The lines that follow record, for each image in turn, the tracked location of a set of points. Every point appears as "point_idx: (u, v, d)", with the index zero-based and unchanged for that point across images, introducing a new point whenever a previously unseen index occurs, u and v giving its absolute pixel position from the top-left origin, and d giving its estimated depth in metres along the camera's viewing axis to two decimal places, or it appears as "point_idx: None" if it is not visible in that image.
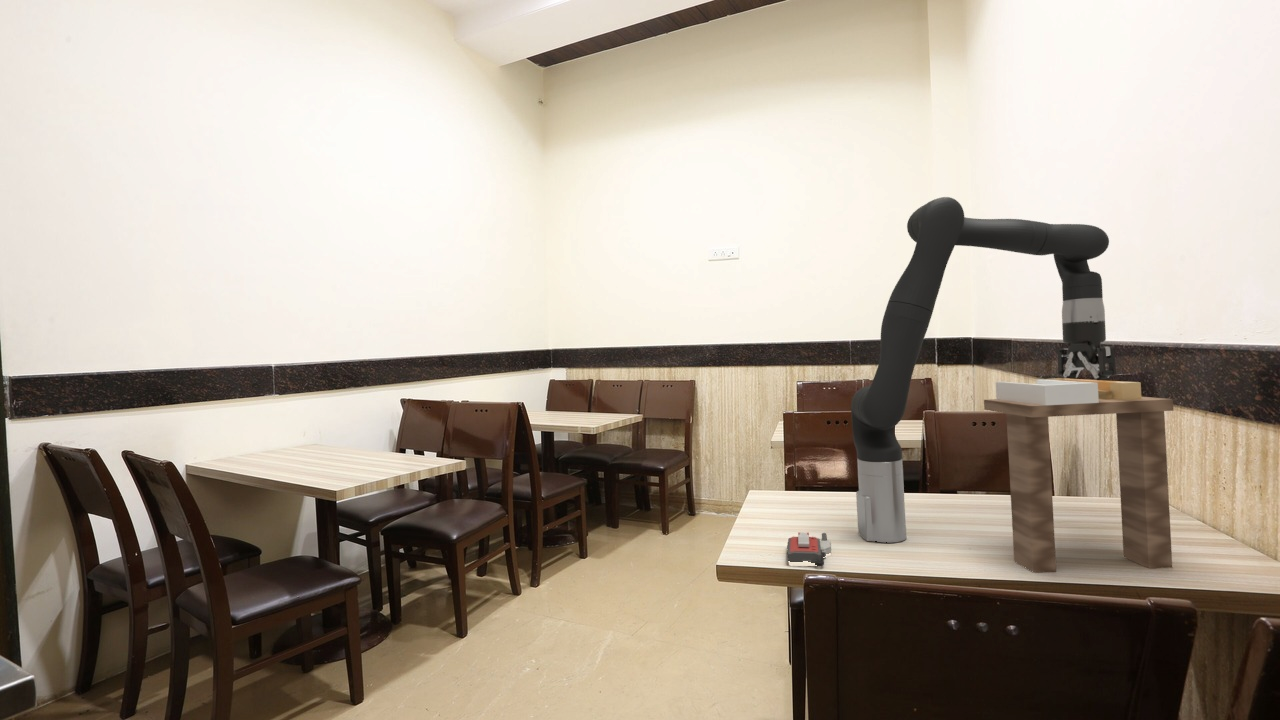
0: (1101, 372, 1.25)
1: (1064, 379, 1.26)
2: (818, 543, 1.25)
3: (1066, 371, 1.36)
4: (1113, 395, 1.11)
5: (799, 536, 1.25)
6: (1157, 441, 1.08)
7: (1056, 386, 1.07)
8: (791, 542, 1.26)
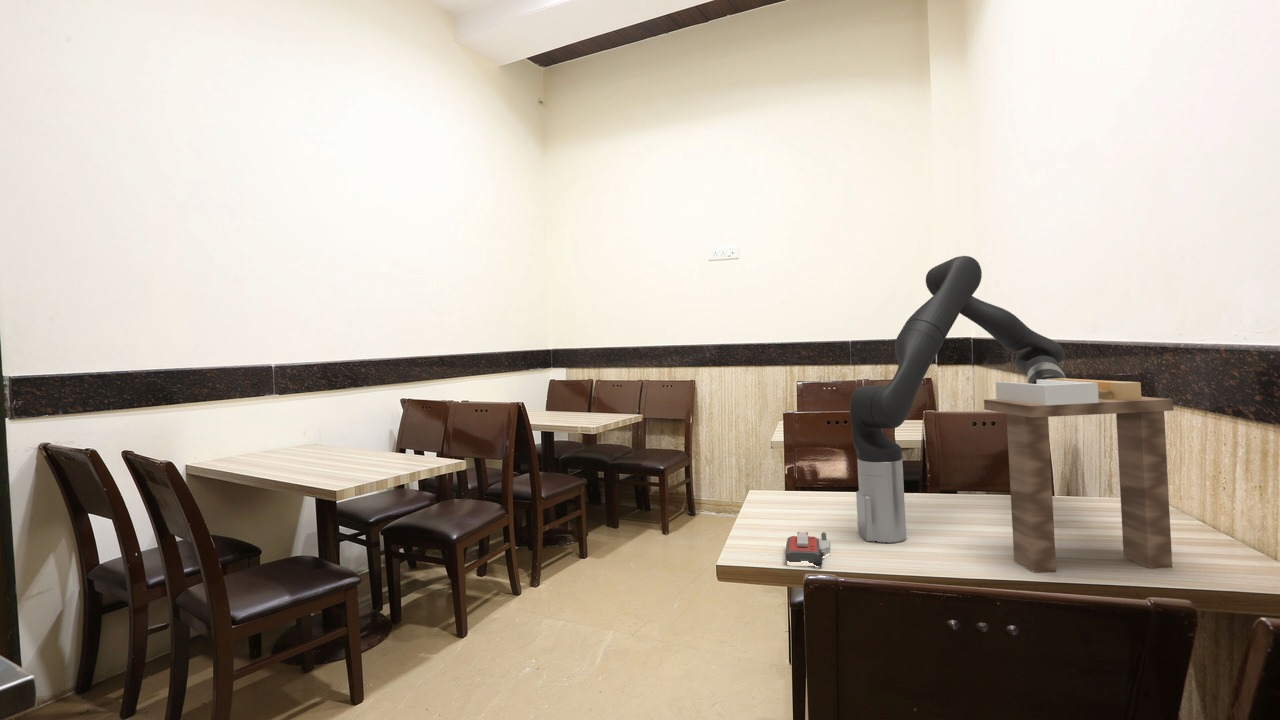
0: None
1: (1064, 379, 1.26)
2: (817, 543, 1.25)
3: None
4: (1113, 395, 1.11)
5: (798, 536, 1.25)
6: (1157, 441, 1.08)
7: (1056, 386, 1.07)
8: (790, 541, 1.26)
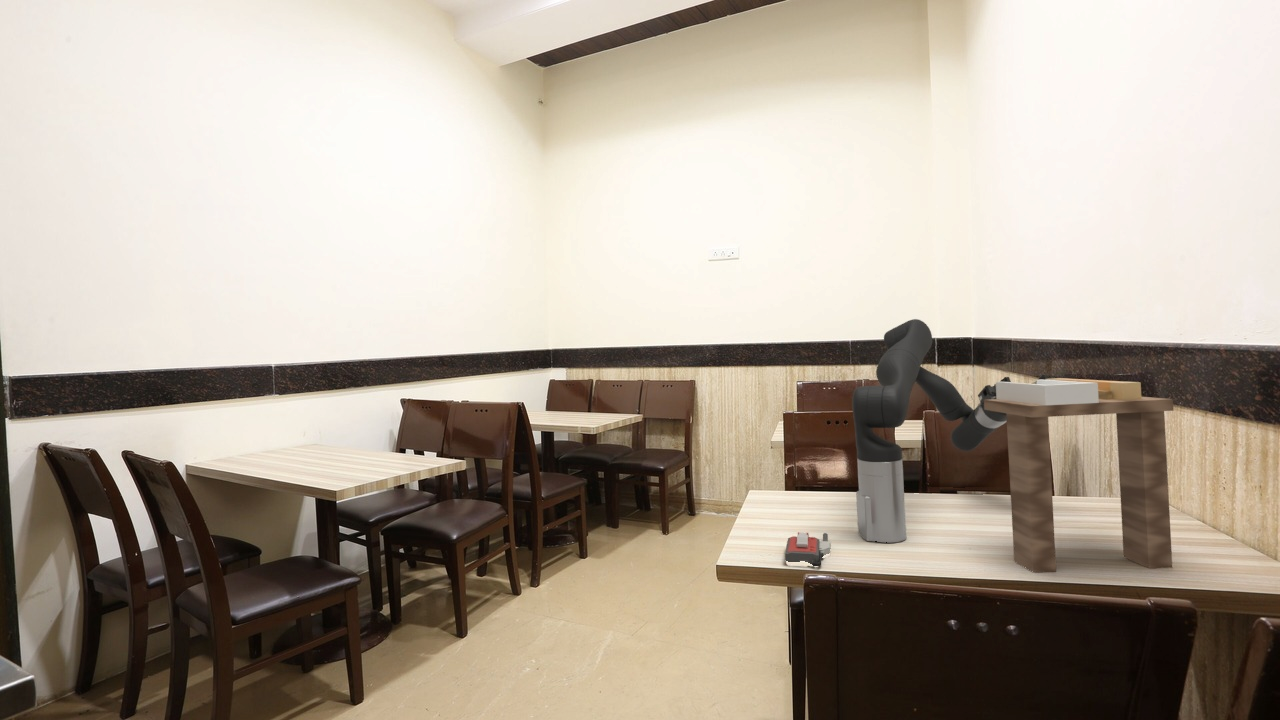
0: None
1: (1064, 379, 1.26)
2: (817, 543, 1.24)
3: None
4: (1113, 395, 1.11)
5: (798, 536, 1.25)
6: (1157, 441, 1.08)
7: (1056, 386, 1.07)
8: (790, 542, 1.26)
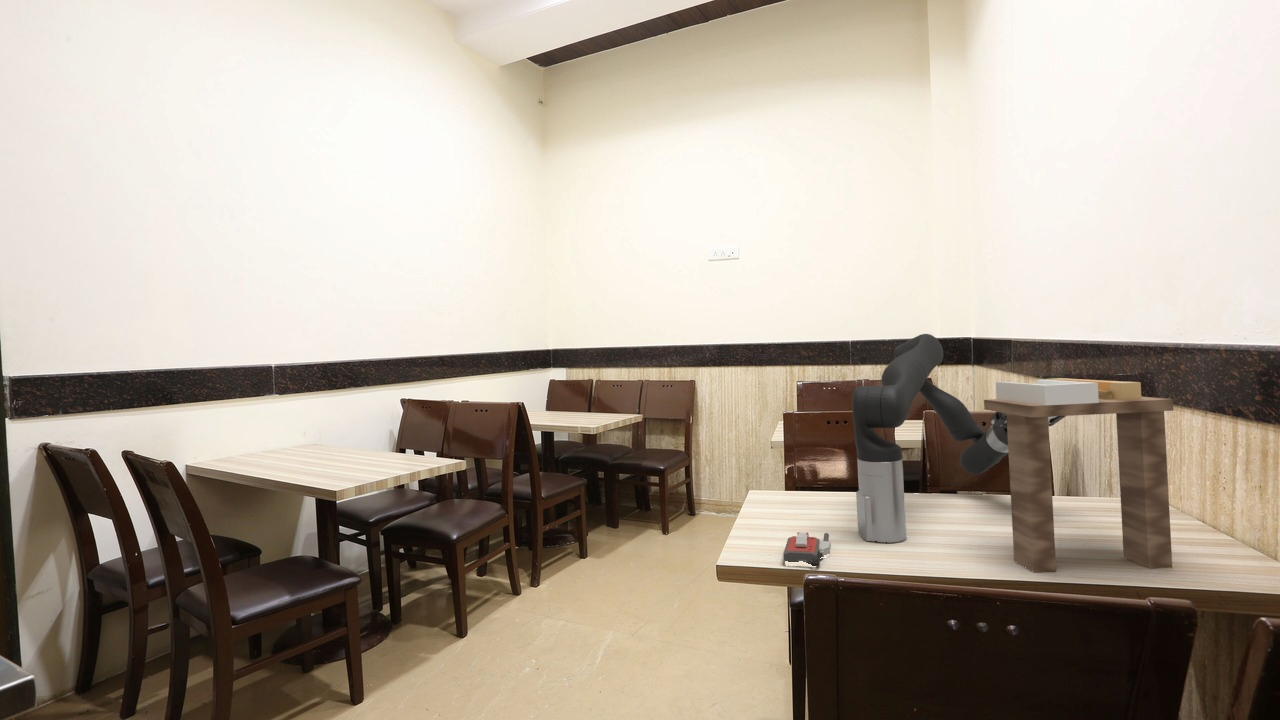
0: None
1: (1064, 379, 1.26)
2: (817, 543, 1.24)
3: None
4: (1113, 395, 1.11)
5: (797, 536, 1.25)
6: (1157, 441, 1.08)
7: (1056, 386, 1.07)
8: (790, 542, 1.26)
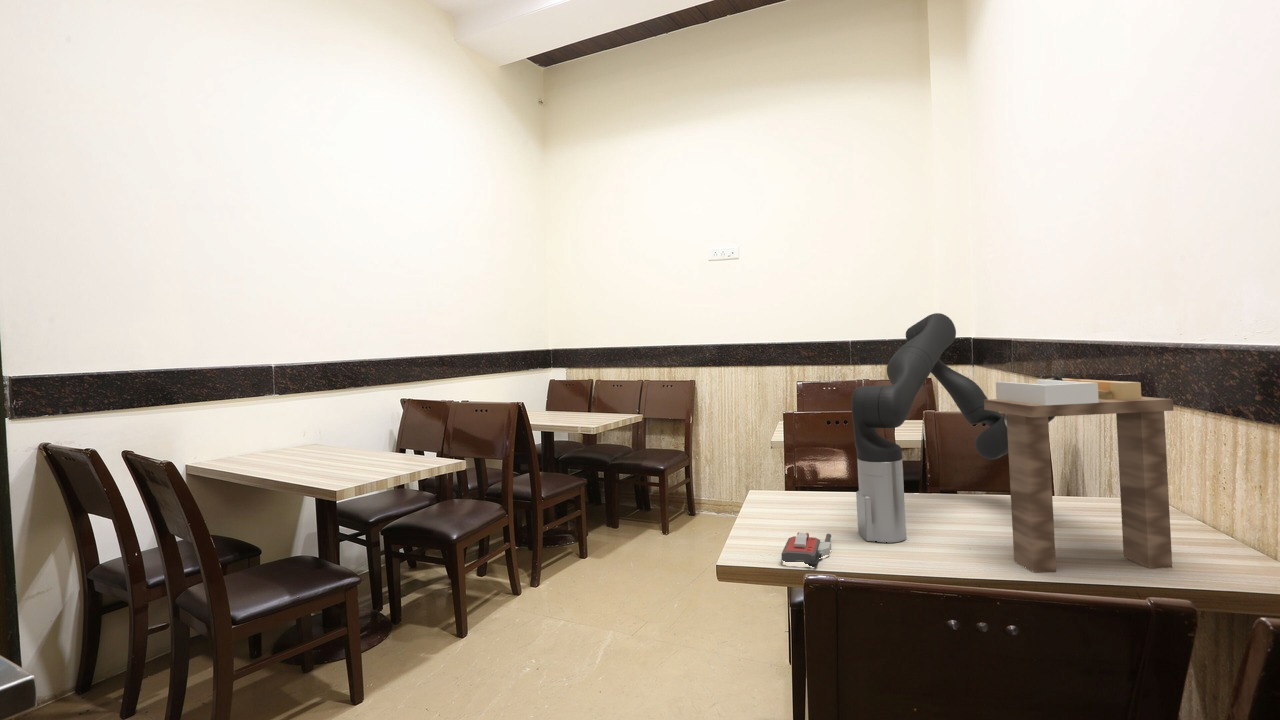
0: None
1: (1064, 379, 1.26)
2: (816, 544, 1.24)
3: None
4: (1113, 395, 1.11)
5: (797, 536, 1.24)
6: (1157, 441, 1.08)
7: (1056, 386, 1.07)
8: (789, 542, 1.26)
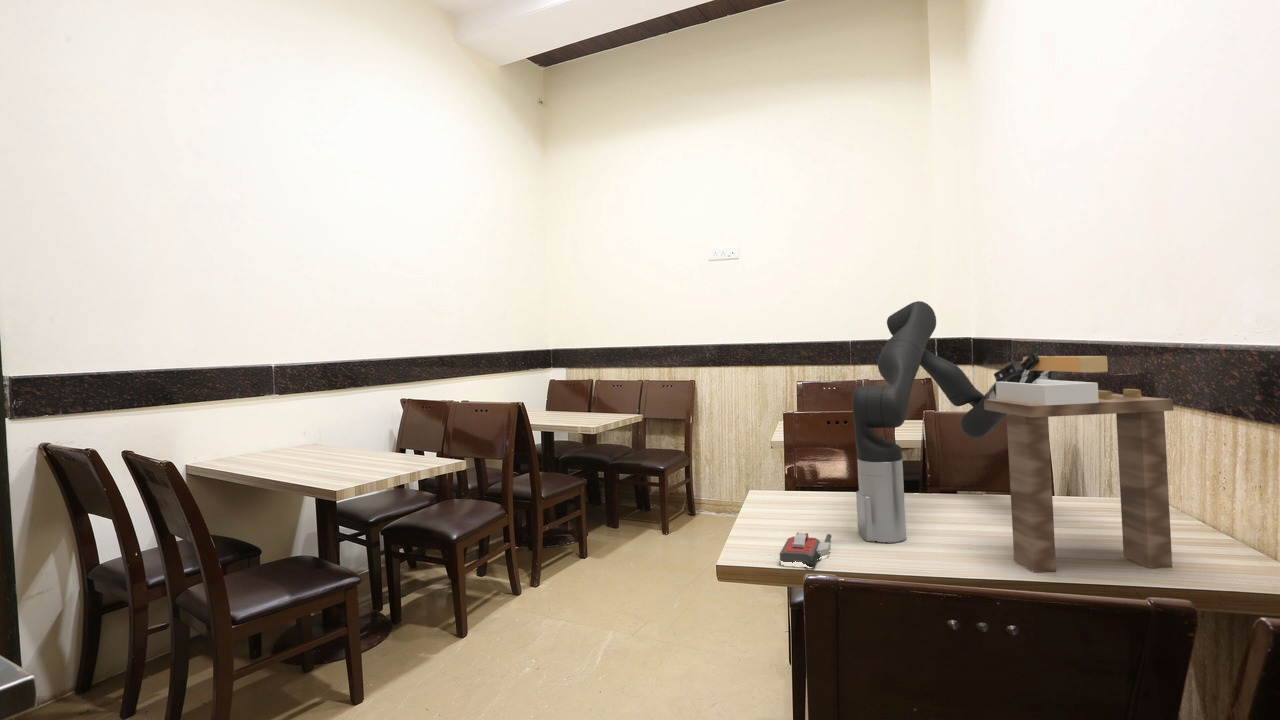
0: None
1: (1039, 356, 1.34)
2: (815, 544, 1.24)
3: None
4: (1082, 368, 1.19)
5: (796, 536, 1.24)
6: (1157, 441, 1.08)
7: (1056, 386, 1.07)
8: (788, 542, 1.26)
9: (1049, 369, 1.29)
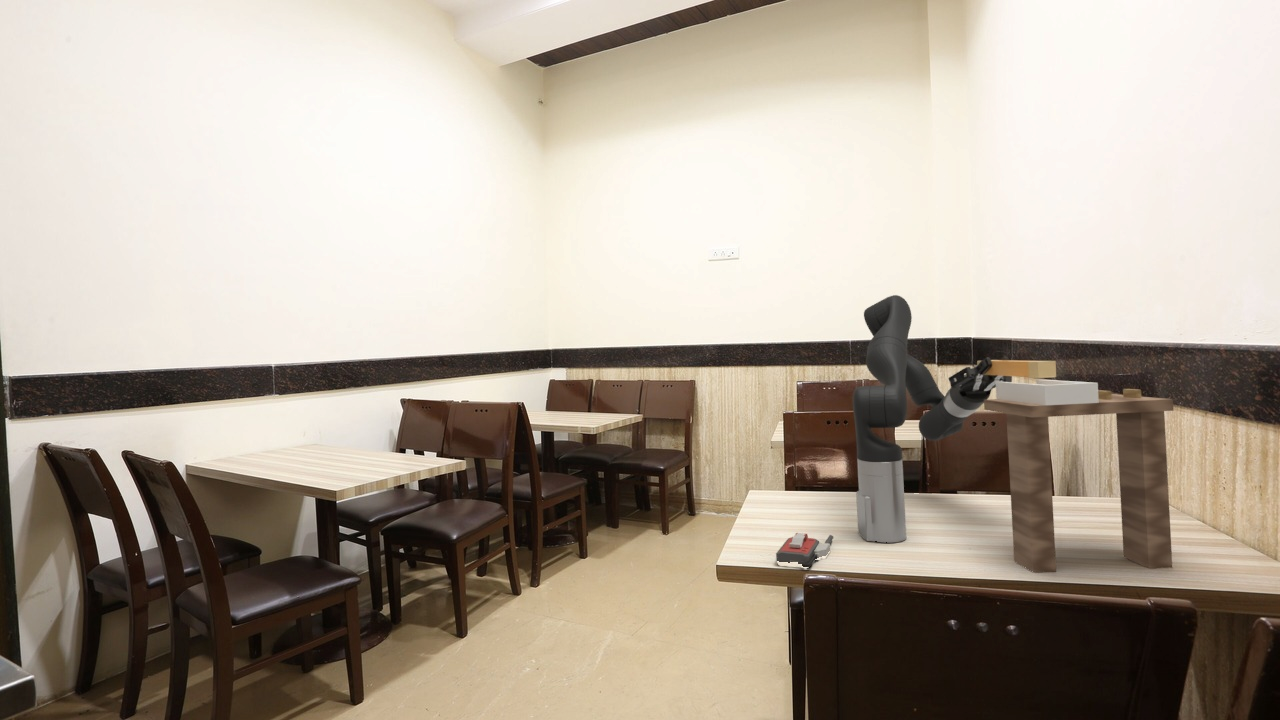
0: None
1: (992, 360, 1.30)
2: (814, 545, 1.23)
3: None
4: (1031, 374, 1.16)
5: (794, 536, 1.24)
6: (1157, 441, 1.08)
7: (1056, 386, 1.07)
8: (787, 542, 1.26)
9: (1001, 374, 1.26)
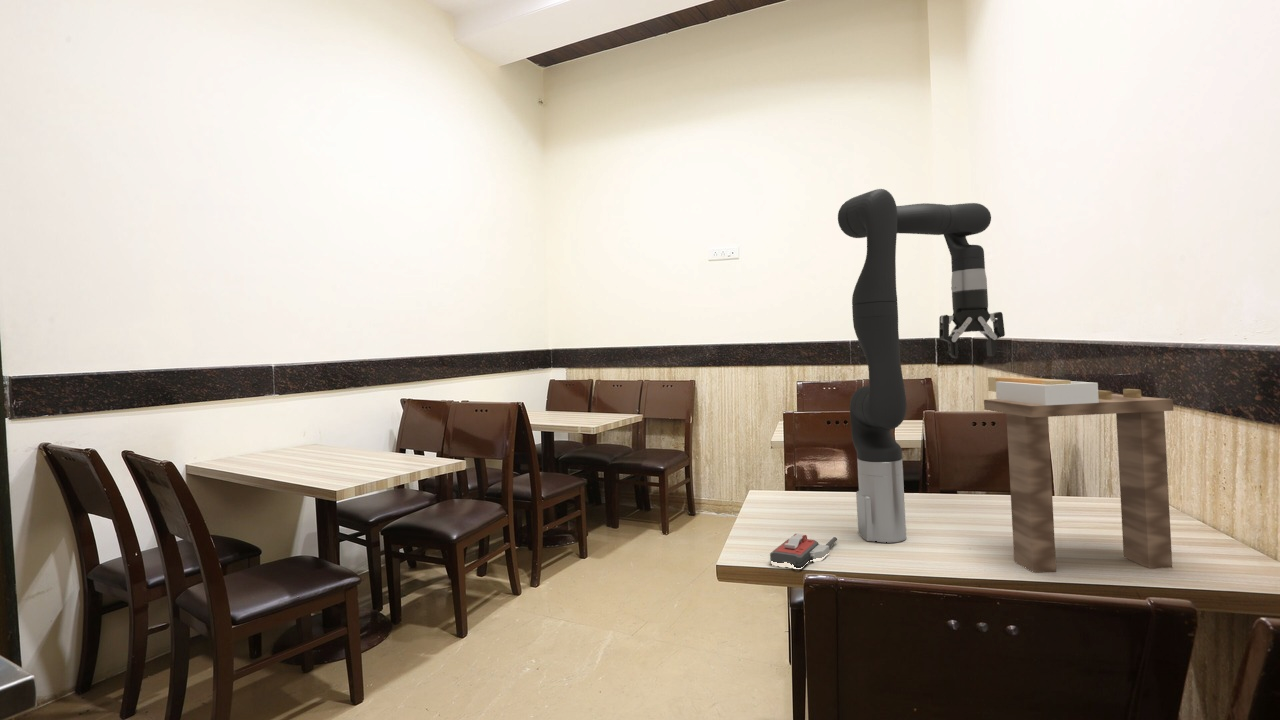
0: (1002, 334, 1.45)
1: (1004, 377, 1.26)
2: (811, 546, 1.23)
3: (956, 335, 1.45)
4: None
5: (791, 537, 1.24)
6: (1157, 441, 1.08)
7: (1056, 386, 1.07)
8: (785, 542, 1.25)
9: None
